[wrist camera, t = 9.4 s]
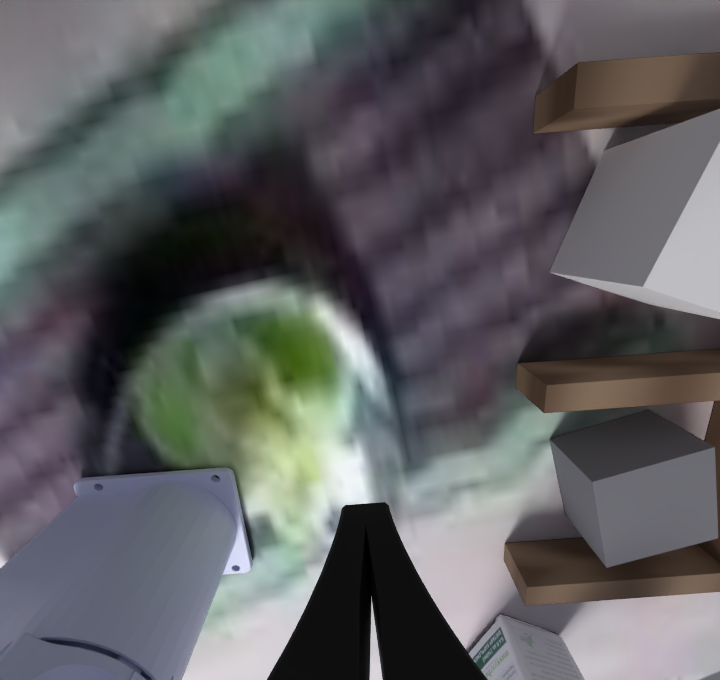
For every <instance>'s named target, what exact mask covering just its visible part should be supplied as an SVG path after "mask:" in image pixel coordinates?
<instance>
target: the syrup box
mask: <svg viewBox="0 0 720 680" xmlns="http://www.w3.org/2000/svg"><path fill="white" fill-rule="evenodd" d="M469 655H470V657H471V658H472V659H473V661H474V662H475V664H476V665H477V666H478V667H479V669H480V670H481V671H482V673H483V674H484V675H485V677H486V678H487V679H488V680H584V678H583V676H582V674H581V672H580V670H579V669H578V667H577V665H576V663H575V661H574V659H573V657H572V655H571V654H570V652H569V650H568V648H567V646H566V644H565V643H564V641H563V639H562V638H561V637H560V636H559V635H557V634H554V633H552V632H549V631H547V630H545V629H542V628H539V627H537V626H534V625H531V624H528V623H525V622H522V621H520V620H517V619H513V618H511V617H508V616H504V615H502V614H500V615H498V617H497V618H496V620H495V623H494V624H493V625H492V626H491V628H490V629H489V630H488V631H487V632H486V633H485V634H484V636H483V637H482V638H481V639H480V640H479V642H478V643H477V644H476V645H475V646H474V648H473V649H472V650H471V651H470V653H469Z"/></svg>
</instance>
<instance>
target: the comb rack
mask: <svg viewBox="0 0 720 680" xmlns="http://www.w3.org/2000/svg"><path fill="white" fill-rule="evenodd" d="M718 109H720V52H715V53H701V54H687V55H673V56H660V57H646V58H632V59H618V60H604V61H590V62H578V63H577V64H576V65H574V66H573V67H572V68H571V69H569V70H568V71H567V72H566V73H564V74H563V75H562V76H560V77H559V78H558V79H557V80H555V81H554V82H553V83H552V84H550V85H549V86H548V87H547V88H545V89H544V90H543V91H542V92H540V93H539V94H538V95H537V96H536V98H535V113H534V127H533V133H546V132H560V131H574V130H587V129H601V128H615V127H629V126H643V125H657V124H670V123H682V122H684V121H687V120H690V119H693V118H695V117H698V116H701V115H704V114H706V113H709V112H712V111H715V110H718ZM516 388H517V389H518V390H519V391H520V392H521V393H522V394H523V395H524V396H526V397H527V398H528V399H529V400H530V401H531V402H532V403H533V404H535V405H536V406H537V407H538V408H539V409H540V410H541V411H542V412H543V413H553V412H567V411H581V410H594V409H608V408H622V407H636V406H649V405H663V404H677V403H690V402H704V401H715V403H714V407H713V411H712V415H711V419H710V423H709V426H708V430H707V434H706V438H705V442H707V443H708V444H710V445H712V446H714V447H715V465H716V490H717V516H718V538H717V539H714V540H710V541H706V542H702V543H699V544H695V545H691V546H687V547H683V548H680V549H676V550H672V551H668V552H664V553H661V554H657V555H653V556H649V557H646V558H642V559H638V560H634V561H630V562H627V563H623V564H619V565H615V566H611V567H608V568H606V566H605V565H604V564H603V562H602V561H601V560H600V559H599V557H598V556H597V555H596V553H595V552H594V551H593V550H592V548H591V547H590V546H589V544H588V543H587V542H586V540H585V539H584V538H571V539H558V540H544V541H530V542H517V543H505V551H504V562H505V564H506V566H507V568H508V570H509V572H510V574H511V577H512V579H513V581H514V583H515V585H516V587H517V589H518V591H519V593H520V596H521V598H522V600H523V602H524V604H525V606H531V605H545V604H559V603H572V602H586V601H600V600H613V599H627V598H641V597H654V596H668V595H681V594H695V593H709V592H720V349H708V350H694V351H680V352H666V353H653V354H639V355H625V356H611V357H598V358H584V359H570V360H556V361H543V362H529V363H517V376H516Z"/></svg>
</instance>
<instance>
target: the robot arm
mask: <svg viewBox="0 0 720 680" xmlns="http://www.w3.org/2000/svg"><path fill="white" fill-rule="evenodd" d="M214 475H217V476H219V478H216V477H215V476H214ZM101 485H102V486H101ZM74 490H75V492H76V495H77V498H76V499H75V500H74V501H73V502H72V503H70V504H69V505H68V506H67V507H66V508H65V509H64V510H63V511H62V512H61V513H60V514H59V515H58V516H56V517H55V518H54V519H53V520H52V521H51V522H50V523H49V524H48V525H47V526H46V527H45V528H44V529H42V530H41V531H40V532H39V533H38V534H37V535H36V536H35V537H34V538H33V539H32V540H31V541H30V542H28V543H27V544H26V545H25V546H24V547H23V548H22V549H21V550H20V551H19V552H18V553H17V554H16V555H14V556H13V557H12V558H11V559H10V560H9V561H8V562H7V563H6V564H5V565H4V566H3V567H2V568H0V680H182V678H183V675H184V673H185V670H186V667H187V665H188V662H189V660H190V657H191V655H192V652H193V649H194V647H195V644H196V642H197V639H198V637H199V634H200V632H201V629H202V626H203V624H204V621H205V619H206V616H207V614H208V611H209V608H210V606H211V603H212V601H213V598H214V596H215V593H216V590H217V588H218V585H219V583H220V580H221V578H222V575H223V574H237V573H247V572H249V571H250V570H251V568H252V565H253V562H252V557H251V552H250V547H249V542H248V538H247V533H246V528H245V523H244V519H243V514H242V509H241V504H240V499H239V495H238V490H237V485H236V480H235V475H234V472H233V471H232V470H231V469H229V468H226V467H223V468H209V469H196V470H182V471H168V472H155V473H141V474H127V475H113V476H100V477H86V478H81V479H79V480H78V481H77V482H76V483H75V484H74ZM237 565H238V566H237ZM371 596H372V603H373V611H374V618H375V625H376V633H377V640H378V648H379V655H380V662H381V670H382V677H383V680H488V679H487V678H486V677H485V675H484V674H483V673H482V671H481V670H480V669H479V667H478V666H477V665H476V664H475V662H474V661H473V659H472V658H471V657H470V655H469V654H468V652H467V651H466V649H465V648H464V647H463V645H462V644H461V642H460V641H459V639H458V638H457V637H456V635H455V634H454V632H453V631H452V629H451V628H450V626H449V625H448V623H447V622H446V620H445V618H444V617H443V615H442V614H441V612H440V611H439V609H438V607H437V606H436V604H435V602H434V601H433V599H432V598H431V596H430V594H429V592H428V591H427V589H426V587H425V585H424V584H423V582H422V580H421V578H420V577H419V575H418V573H417V571H416V569H415V567H414V565H413V563H412V561H411V559H410V557H409V556H408V554H407V552H406V550H405V547H404V545H403V543H402V541H401V539H400V536H399V534H398V532H397V529H396V527H395V524H394V522H393V519H392V516H391V513H390V509H389V505H387V504H386V503H385V502H384V503H370V504H356V505H345V506H344V507H343V508H342V511H341V516H340V520H339V524H338V528H337V531H336V534H335V537H334V540H333V543H332V546H331V549H330V551H329V554H328V557H327V559H326V562H325V565H324V567H323V570H322V572H321V575H320V577H319V579H318V582H317V584H316V586H315V588H314V591H313V593H312V595H311V597H310V600H309V602H308V604H307V606H306V608H305V610H304V612H303V614H302V616H301V618H300V620H299V622H298V624H297V626H296V628H295V630H294V632H293V634H292V636H291V638H290V640H289V642H288V643H287V645H286V647H285V649H284V651H283V652H282V654H281V656H280V658H279V659H278V661H277V663H276V665H275V666H274V668H273V670H272V672H271V673H270V675H269V677H268V679H267V680H369V675H370V633H371Z"/></svg>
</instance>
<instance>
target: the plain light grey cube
mask: <svg viewBox="0 0 720 680" xmlns="http://www.w3.org/2000/svg"><path fill="white" fill-rule="evenodd" d="M550 273H553V274H556V275H559V276H562V277H565V278H568V279H572V280H575V281H578V282H581V283H584V284H587V285H590V286H593V287H596V288H600V289H603V290H606V291H609V292H612V293H615V294H618V295H621V296H624V297H628V298H631V299H634V300H637V301H640V302H643V303H646V304H650V305H655V306H659V307H664V308H669V309H673V310H678V311H683V312H688V313H692V314H697V315H702V316H707V317H711V318H716V319H720V109H718V110H715V111H712V112H709V113H706V114H704V115H701V116H698V117H695V118H693V119H690V120H687V121H684V122H682V123H679V124H676V125H673V126H671V127H668V128H665V129H662V130H660V131H657V132H654V133H651V134H648V135H646V136H643V137H640V138H637V139H635V140H632V141H629V142H626V143H624V144H621V145H618V146H615V147H613V148H610V149H607V150H604V151H603V154H602V156H601V158H600V160H599V163H598V165H597V167H596V169H595V172H594V174H593V176H592V178H591V180H590V183H589V185H588V187H587V189H586V192H585V194H584V196H583V198H582V201H581V203H580V205H579V207H578V209H577V212H576V214H575V216H574V218H573V221H572V223H571V225H570V227H569V230H568V232H567V234H566V236H565V238H564V241H563V243H562V245H561V247H560V250H559V252H558V254H557V256H556V259H555V261H554V263H553V265H552V267H551V270H550Z"/></svg>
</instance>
